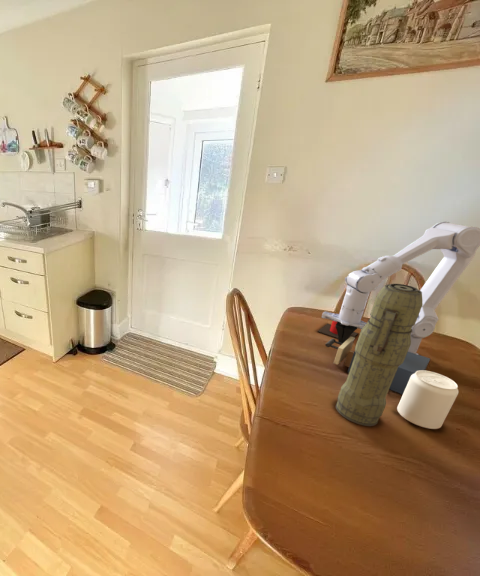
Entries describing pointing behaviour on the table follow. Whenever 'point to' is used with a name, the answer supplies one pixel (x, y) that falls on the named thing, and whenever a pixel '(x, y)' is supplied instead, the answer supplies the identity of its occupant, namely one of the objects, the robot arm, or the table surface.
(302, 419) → the table surface
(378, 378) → the thermos
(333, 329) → the red can
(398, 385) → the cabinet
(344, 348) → the drawer
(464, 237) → the robot arm
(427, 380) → the white cylinder
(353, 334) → the dark brown flat plate
